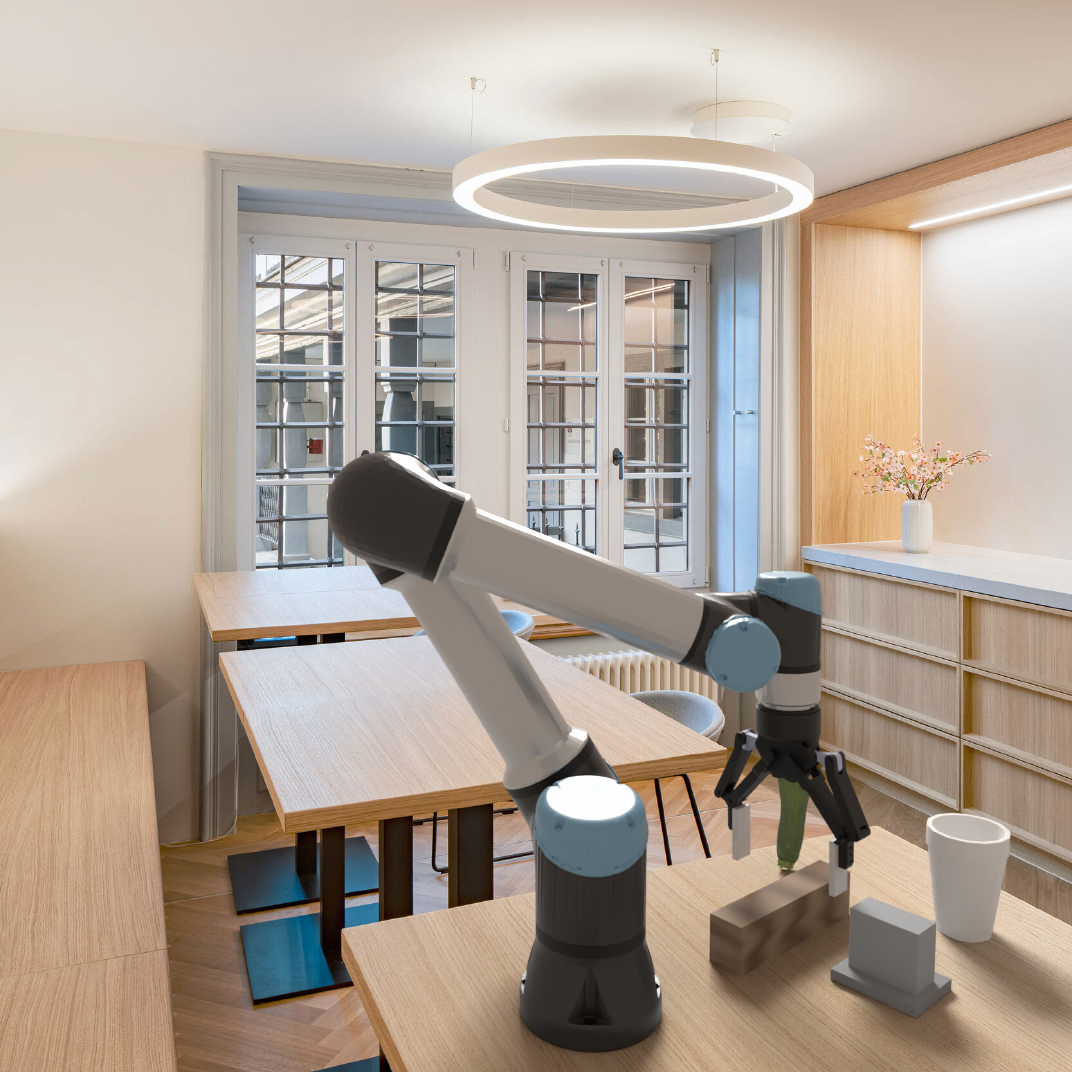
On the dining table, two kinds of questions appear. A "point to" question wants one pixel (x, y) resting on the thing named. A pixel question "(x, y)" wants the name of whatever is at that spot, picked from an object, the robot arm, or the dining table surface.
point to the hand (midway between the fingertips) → (787, 874)
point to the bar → (775, 919)
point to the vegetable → (791, 822)
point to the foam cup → (966, 873)
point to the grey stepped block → (892, 958)
